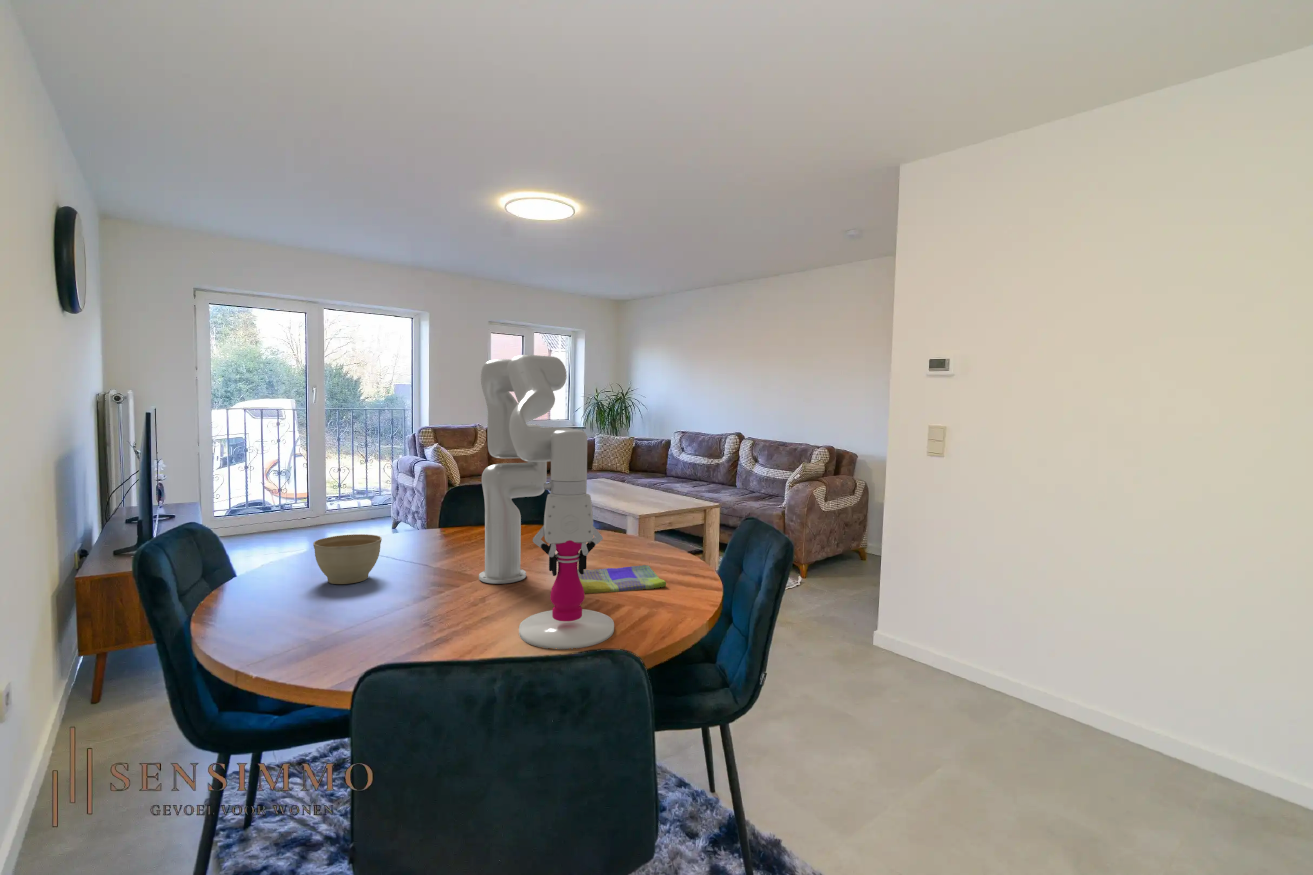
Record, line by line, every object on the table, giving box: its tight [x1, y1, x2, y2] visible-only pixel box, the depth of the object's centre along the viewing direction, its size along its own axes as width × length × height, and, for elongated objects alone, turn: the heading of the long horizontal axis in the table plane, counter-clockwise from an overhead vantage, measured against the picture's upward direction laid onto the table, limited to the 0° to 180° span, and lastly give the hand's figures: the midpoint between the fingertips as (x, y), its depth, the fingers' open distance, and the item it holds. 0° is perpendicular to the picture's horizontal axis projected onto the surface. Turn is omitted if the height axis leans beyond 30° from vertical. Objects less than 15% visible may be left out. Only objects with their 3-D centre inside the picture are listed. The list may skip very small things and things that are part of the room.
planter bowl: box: [313, 533, 383, 585], centre depth 158 cm, size 16×16×11 cm
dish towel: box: [577, 564, 667, 594], centre depth 161 cm, size 18×24×3 cm
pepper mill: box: [549, 540, 586, 621], centre depth 125 cm, size 7×7×20 cm
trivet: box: [518, 608, 615, 650], centre depth 126 cm, size 20×20×1 cm
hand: (567, 572), depth 125 cm, fingers closed on pepper mill, 5 cm apart
